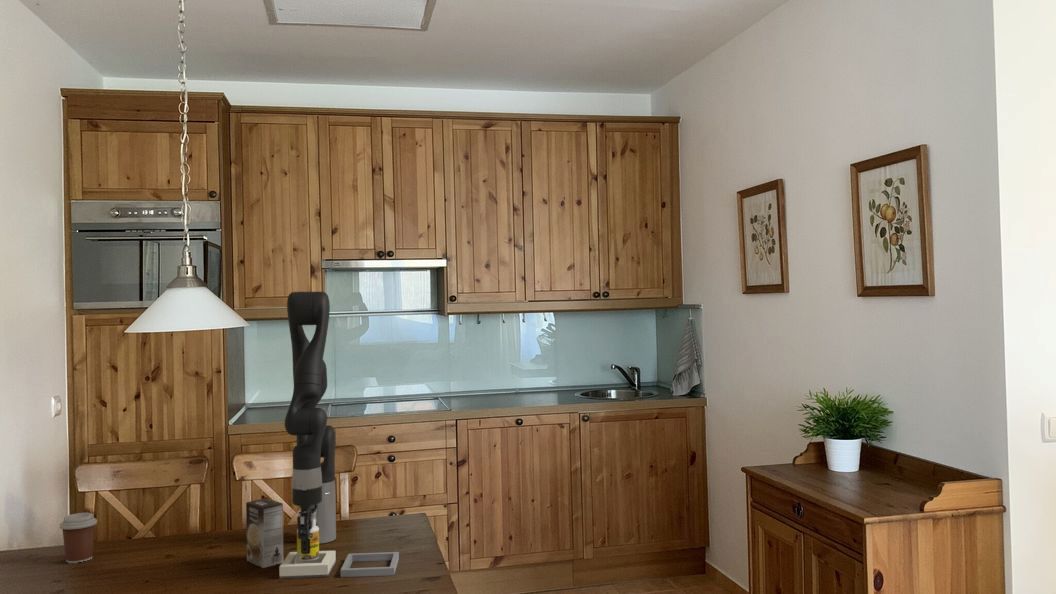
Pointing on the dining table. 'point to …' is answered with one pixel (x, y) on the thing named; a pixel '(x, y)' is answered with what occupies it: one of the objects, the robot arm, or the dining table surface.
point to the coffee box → (264, 532)
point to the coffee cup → (78, 536)
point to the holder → (307, 566)
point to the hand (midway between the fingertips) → (308, 549)
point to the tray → (372, 571)
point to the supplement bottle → (313, 545)
